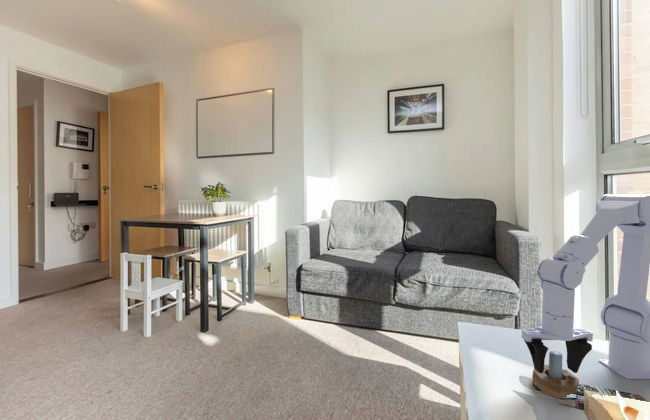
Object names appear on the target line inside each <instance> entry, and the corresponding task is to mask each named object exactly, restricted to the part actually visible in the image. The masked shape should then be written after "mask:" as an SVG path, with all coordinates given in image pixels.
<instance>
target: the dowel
mask: <svg viewBox="0 0 650 420" xmlns="http://www.w3.org/2000/svg"><path fill="white" fill-rule="evenodd" d="M548 352H549V355H548V365H549V377H550V378H553V379H556V380H562V369H563V354H562V353H561V352H558V351H555V350H550V351H548Z"/></svg>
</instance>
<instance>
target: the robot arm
mask: <svg viewBox="0 0 650 420" xmlns="http://www.w3.org/2000/svg"><path fill="white" fill-rule="evenodd" d="M616 227H617V228H618V229H620V231H621V232H622V233H623V236H622V247H621V256H620V265H619V266H620V267H619V274H618V275H619V276H618V283H617V291H616V292H617V294H615V295H611V296H609V297H607V298H605V299H604V300H605V301H604V306H603V307H602V310H601V312H600V321H601V322H602V324H603V326H605V327H606V329H605V330H606V331H608V332H609V336H608V337H609V338H608V340H609V341H608V342H609V343H608V357H607V359H606V358H603V359H602V358H599V359H598V362H599V363H600V364H603V366H605V367H607V368H608V369H610V370H612V371H614V373H616V374H618V375H619V376H621V377H623V378H624V379H627V380H650V301H649V300H648V298H647V294H648V286H649V284H648V283H649V275H650V194H611V193H610V194H609V193H606V194H604V195H602V196H601V197H599V200H598V201H597V202H596V203H595V214H594V216H593V217H592V218H591V220H590V221H589V223H587V225H586V227H585V228H584V229H583V231H582V232H581V233H580V235H578V234H577V235H572V236H571V237H569V239H568V240H567V241H566V242H565V243H564V244H562V246H561V248H559V249H558V250H557V252H556V253H555V254H553V256H552V257H548V258H547V257H546V258H545V259H542V261H541V262H540V263H539V265H538V268H537V269H536V276H537V278H538V279H539V282H540V283H539V287H540V289H542V304H541V305H542V306H541V307H542V308H541V309H542V311H541V325H540V326H538V327H532V328H528V329H527V328H526V329H521V338H522V339H523V341H524V343H525V344H526V347H527V349H528V351H529V353H530V356H531V360H532V363H533V369H534V368H535V369H536V370H537V371H538V372H539V373H543V371H544V365H545V360H546V355H547V353H548V352H549V348H548V347H547V346H546V345H545V344H544V342H543V341H561V342H565V347H566V366H567V369H568V370H570V371H571V372H572V373H573V374H578V372H579V369H580V367H581V364H582V363H583V360H584V359H585V357H586V356H587V355H588V354H589V353H590V352H591V351H592V350H593V345H592V344H591V343H590V342H593V339H594V338H593V336H594V334H593V332H592V331H590V330H588V329H586V328H574V321H575V319H574V317H575V316H574V315H575V298H576V297H575V293H576V290H575V289H576V288H577V287H579V285H581V284H582V281H583V277H584V274H585V272H586V270H587V269H586V267H587V265H589V263H590V262H591V261H592V260H593V259H594V257H596V256H597V254H598V252H599V246H598V243H600V242H601V241H602V240H603V239H604V238H605V237H607V236H608V235H609V233H611V232H612V231H613V230H614V229H615V228H616Z"/></svg>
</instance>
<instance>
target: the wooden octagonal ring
mask: <svg viewBox="0 0 650 420" xmlns="http://www.w3.org/2000/svg"><path fill="white" fill-rule="evenodd" d="M579 381H580V380H579V378H578V376H577V377H576V375H574V373H571V372H570V371H569V370H567V369H564V368H562V380H556V379H553V378H550V377H549V364H544V371H543V373H539V372H538V371H537V370H536V369H535V368H534V367H533V370H532V384H533V385H534V383H536V384H537V385H538V386H539V387H540V389H541V391H542V392H541V391H540V392H541V393H543V394H546V395H549V396H550V397H554V398H557V399H559V398H563V397H565V396H567V395H570V394H573V393H576V392H577V389H578V390H579V387H578V386H579V385H580V384H579Z"/></svg>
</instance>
